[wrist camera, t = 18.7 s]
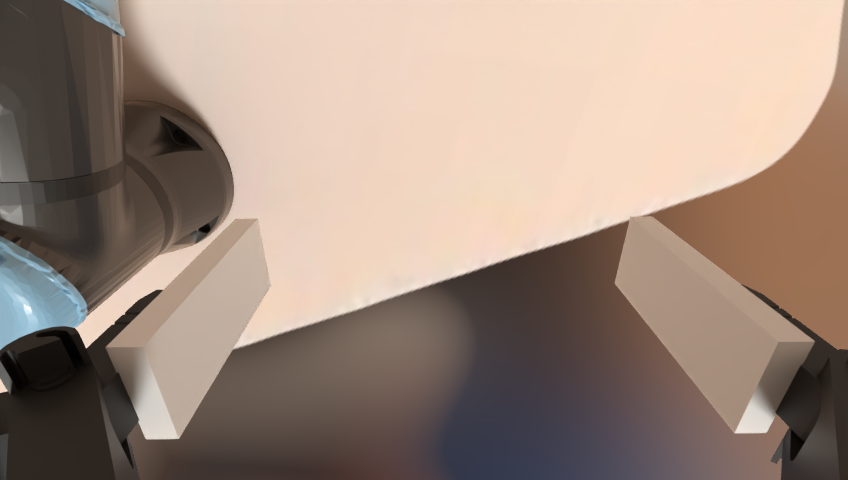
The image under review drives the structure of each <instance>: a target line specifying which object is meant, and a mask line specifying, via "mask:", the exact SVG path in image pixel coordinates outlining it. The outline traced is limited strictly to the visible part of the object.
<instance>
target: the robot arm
mask: <svg viewBox="0 0 848 480" xmlns="http://www.w3.org/2000/svg"><path fill="white" fill-rule="evenodd" d="M122 36H123V37H125V30H124V28H123V26H122V25H121V24H120V14H119V4H118V0H0V379H1V380H2V382H3V384H4V385H5V387H6V389H7V390H8V392H3V393H0V480H140V477H139V473H138V469H137V465H136V461H135V457H134V454H133V449H132V446H131V443H130V442H129V439H128V437H127V436H128V435H129V433H130V432H131V431H132V429H133V428H134V426H135V425H136V424H137V422H139V425H140V427H141V429H142V431H143V434H144V436H145V438H146V439H179V438H180V436H181V434H182V433H183V431H184V429H185V428H186V425H187V424H188V423H189V421H190V419H191V418H192V416H193V414H194V412H195V411H196V409H197V407H198V406H199V404H200V403H201V401H202V399H203V398H204V396H205V394H206V393H207V391H208V389H209V388H210V386H211V384H212V383H213V381H214V379H215V378H216V376H217V374H218V372H219V371H220V369H221V368H222V366H223V364H224V363H225V361H226V359H227V357H228V356H229V354H230V353H231V351H232V349H233V348H234V346H235V344H236V343H237V341H238V339H239V338H240V336H241V334H242V333H243V331H244V329H245V328H246V326H247V324H248V323H249V321H250V319H251V318H252V316H253V314H254V313H255V311H256V309H257V308H258V306H259V304H260V303H261V301H262V299H263V298H264V296H265V294H266V293H267V291H268V289H269V288H270V286H271V285H270V280H269V274H268V269H267V264H266V259H265V254H264V249H263V244H262V239H261V234H260V229H259V224H258V219H235V220H234V221H233V222H232V223H231V224H230V225H229V226H228V227H227V228H226V229H225V230H224V231H223V232H222V233H221V234H220V235H219V236H218V237H217V238H216V239H215V240H214V241H213V242H212V243H211V244H210V245H209V246H208V247H207V248H206V249H205V250H204V251H203V252H202V253H201V254H200V255H199V256H198V257H197V258H196V259H194V260H193V261H192V262H191V263H190V264H189V265H188V266H187V267H186V268H185V269H184V270H183V271H182V272H181V273H180V274H179V275H178V276H177V277H176V278H175V279H174V280H173V281H172V282H171V283H170V284H169V285H168V286H167V287H166V288H165V289H164V290H156V291H154V292H152V293H150V294H149V295H147V296H145V297H143V298H141V299H140V300H138V301H137V302H136V303H135V304H134V305H133V306H132V307H131V308H129V309H128V310H127V311H126V312H125V315H122V316H121V317H120V318H119V319H118V320H117V321H116V322H115V324H114V325H111V326H110V327H109V328H108V329H107V330H106V331H105V332H104V333H103V334H102V335H101V336H99V337H98V338H97V339H96V340H95V341H94V342H93V343H92V344H91V345H90V346H89V347H88V348H87V349H86V348H85V345H84V343H83V341H82V339H81V337H80V335H79V333H78V332H77V330H76V329H75V328H74V327H77V326H78V325H80V324H81V323H82V322H83V321H84V320H85V319H86V317H87V316H88V315H89V314H90V313H91V312H92V311H93V310H95V309H96V308H97V307H98V306H99V305H100V304H102V303H103V302H104V301H105V300H106V299H107V298H108V297H110V296H111V295H112V294H113V293H114V292H115V291H117V290H118V289H119V288H120V287H121V286H122V285H124V284H125V283H126V282H127V281H128V280H129V279H131V278H132V277H133V276H134V275H135V274H136V273H138V272H139V271H140V270H141V269H142V268H143V267H145V266H146V265H147V264H148V263H149V262H151V261H152V260H153V259H154V258H155V257H156V256H158V255H161V254H165V253H168V252H172V251H175V250H179V249H183V248H186V247H189V246H192V245H194V244H197V243H198V242H200V241H202V240H204V239H205V238H207V237H208V236H209V235H210V234H211V233H213V232H214V231H215V230H216V229H217V228H218V227H219V226H220V225H221V224H222V223H223V221H224V220H225V219H226V217H227V215H228V213H229V211H230V209H231V206H232V202H233V195H234V185H233V178H232V173H231V170H230V167H229V164H228V162H227V159H226V157H225V155H224V154H223V152H222V150H221V149H220V147H219V146H218V144H217V143H216V142H215V140H214V139H213V138H212V137H211V136H210V134H209V133H208V132H207V131H206V130H205V129H204V128H202V127H201V126H200V125H199V124H198V123H196V122H195V121H194V120H192V119H191V118H189V117H188V116H186V115H185V114H183V113H181V112H179V111H177V110H175V109H173V108H170V107H168V106H165V105H162V104H158V103H154V102H148V101H127V102H124V82H123V49H122ZM615 284H616V285H617V287H618V288H619V289H620V290H621V292H622V293H623V294H624V295H625V297H626V298H627V299H628V301H629V302H630V303H631V304H632V306H633V307H634V308H635V309H636V311H637V312H638V313H639V314H640V316H641V317H642V318H643V319H644V321H645V322H646V323H647V324H648V325H649V327H650V328H651V329H652V331H653V332H654V333H655V334H656V336H657V337H658V338H659V339H660V341H661V342H662V343H663V344H664V345H665V347H666V348H667V349H668V351H669V352H670V353H671V354H672V356H673V357H674V358H675V359H676V360H677V362H678V363H679V364H680V366H681V367H682V368H683V369H684V371H685V372H686V373H687V374H688V376H689V377H690V378H691V379H692V381H693V382H694V383H695V384H696V385H697V387H698V388H699V389H700V391H701V392H702V393H703V394H704V396H705V397H706V398H707V399H708V401H709V402H710V403H711V404H712V406H713V407H714V408H715V409H716V411H717V412H718V413H719V414H720V416H721V417H722V418H723V419H724V421H725V422H726V423H727V425H728V426H729V427H730V428H731V430H732V431H733V432H734V433H766V432H767V431H768V429H769V427H770V425H771V423H772V421H773V419H774V418H775V416H776V414H777V415H778V416H780V418H781V419H782V420H783V421H784V422H785V423H786V424H787V425H788V426H789V429H788V430H787V432H786V434H785V436H784V438H783V439H782V441H781V443H780V445H779V446H778V448H777V450H776V452H775V454H774V455H773V457H772V459H771V461H772V462H774V463H776V464H777V462H778V461H779V459H780V458H782V470H781V480H848V350H842V349H840V350H837V349H836V348H834V347H833V346H831V345H830V344H829V343H827V342H826V341H824V340H823V339H822V338H821V337H819V336H818V335H817V334H815V333H814V332H813V331H811V330H810V329H809V328H807V327H806V326H805V325H803V324H802V323H801V322H799V321H798V320H796V319H795V318H792V316H791V315H790V314H789V313H787V312H786V311H785V310H783V309H779V306H778V305H776V304H775V303H774V302H772V301H771V300H770V299H768V298H767V297H765V296H764V295H763V294H761V293H759V292H757V291H755V290H753V289H750V288H748V287H747V286H744V285H741V284H739V283H738V282H737V281H736V280H734V279H733V278H732V277H730V276H729V275H728V274H726V273H725V272H724V271H723V270H721V269H720V268H718V267H717V266H716V265H715V264H713V263H712V262H711V261H709V260H708V259H707V258H705V257H704V256H703V255H702V254H700V253H699V252H698V251H696V250H695V249H694V248H692V247H691V246H690V245H689V244H687V243H686V242H685V241H683V240H682V239H681V238H679V237H678V236H677V235H675V234H674V233H673V232H672V231H670V230H669V229H668V228H666V227H665V226H664V225H662V224H661V223H660V222H658V221H657V220H656V219H655V218H653V217H630V222H629V226H628V230H627V235H626V238H625V242H624V247H623V251H622V255H621V259H620V263H619V267H618V272H617V276H616V280H615Z"/></svg>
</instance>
